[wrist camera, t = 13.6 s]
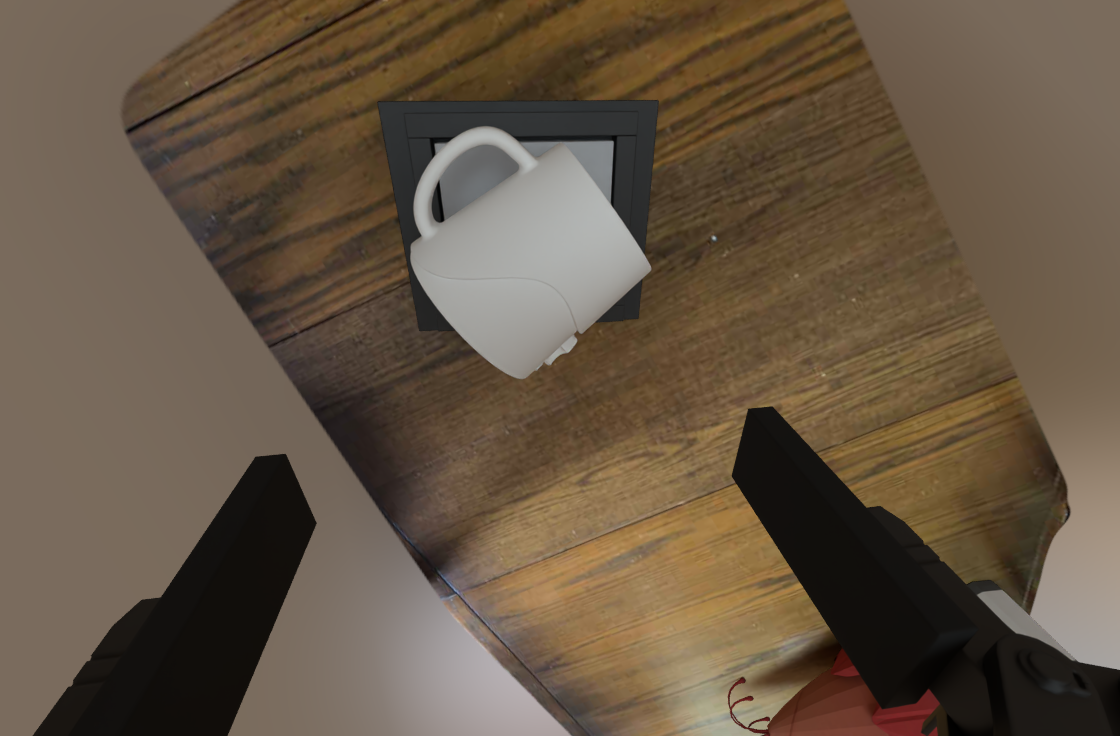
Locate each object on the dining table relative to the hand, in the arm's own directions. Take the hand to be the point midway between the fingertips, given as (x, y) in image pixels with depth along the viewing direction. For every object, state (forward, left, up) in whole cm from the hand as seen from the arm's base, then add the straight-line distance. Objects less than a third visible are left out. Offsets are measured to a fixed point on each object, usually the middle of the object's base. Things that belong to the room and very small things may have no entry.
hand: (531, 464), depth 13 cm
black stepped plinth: (+1, +2, -21) cm, 21 cm away
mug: (+1, +3, -18) cm, 18 cm away
